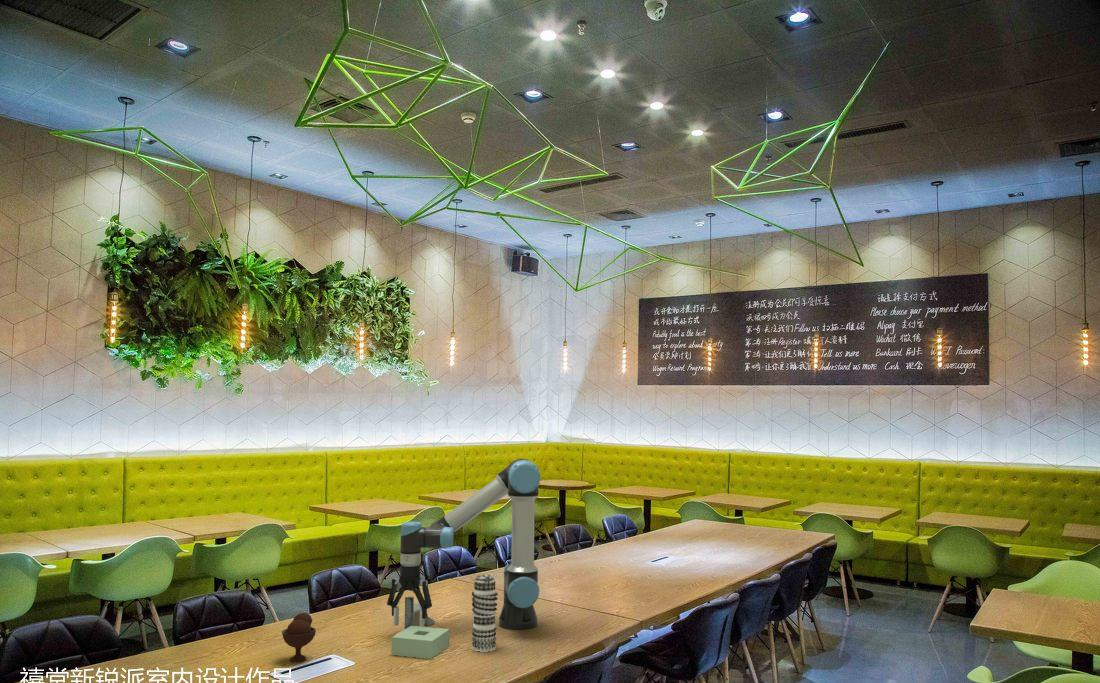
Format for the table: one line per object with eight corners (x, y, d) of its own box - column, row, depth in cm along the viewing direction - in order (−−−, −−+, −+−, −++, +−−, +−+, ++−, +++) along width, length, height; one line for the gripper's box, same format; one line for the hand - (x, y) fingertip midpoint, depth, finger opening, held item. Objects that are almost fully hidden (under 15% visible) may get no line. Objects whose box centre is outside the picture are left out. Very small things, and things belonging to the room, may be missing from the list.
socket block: (449, 646, 274) (449, 629, 275) (431, 659, 260) (432, 641, 260) (410, 642, 278) (411, 625, 279) (391, 655, 264) (391, 637, 264)
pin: (414, 635, 286) (415, 596, 287) (410, 638, 283) (411, 598, 284) (406, 634, 286) (407, 596, 288) (402, 637, 283) (403, 598, 285)
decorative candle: (486, 654, 266) (487, 579, 268) (465, 649, 271) (466, 576, 273) (502, 647, 274) (503, 575, 276) (481, 643, 279) (482, 572, 281)
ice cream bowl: (284, 655, 263) (286, 609, 264) (318, 654, 264) (319, 609, 265) (276, 665, 253) (278, 618, 254) (311, 664, 253) (313, 617, 255)
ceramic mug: (410, 629, 295) (411, 608, 296) (404, 624, 302) (405, 604, 303) (437, 627, 300) (437, 606, 300) (430, 621, 307) (431, 601, 308)
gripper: (378, 564, 286) (376, 626, 284) (434, 568, 280) (432, 631, 278) (387, 560, 293) (386, 621, 291) (442, 564, 287) (441, 626, 285)
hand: (408, 626), depth 285 cm, fingers open, 10 cm apart
